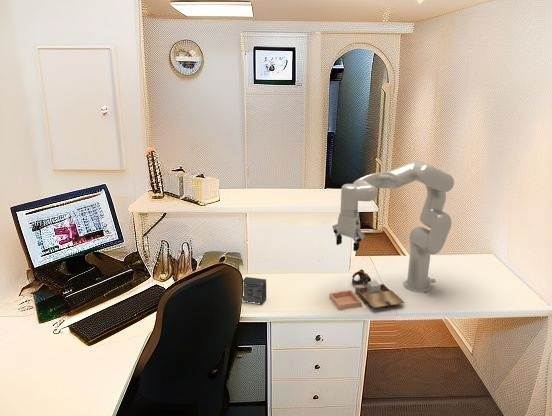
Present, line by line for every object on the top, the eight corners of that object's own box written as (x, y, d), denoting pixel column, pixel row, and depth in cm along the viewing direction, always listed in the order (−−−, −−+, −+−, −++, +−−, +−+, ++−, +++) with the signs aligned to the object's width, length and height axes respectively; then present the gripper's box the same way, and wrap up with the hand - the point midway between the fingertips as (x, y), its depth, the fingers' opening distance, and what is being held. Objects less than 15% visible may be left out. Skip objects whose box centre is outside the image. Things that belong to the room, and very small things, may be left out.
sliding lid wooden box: (383, 289, 212) (383, 282, 210) (404, 309, 194) (405, 301, 193) (354, 294, 207) (355, 286, 206) (373, 314, 190) (374, 306, 189)
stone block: (375, 291, 208) (375, 280, 206) (379, 296, 204) (380, 285, 202) (366, 293, 207) (367, 282, 205) (371, 297, 203) (372, 286, 201)
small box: (267, 298, 204) (266, 278, 201) (263, 305, 198) (262, 285, 195) (246, 295, 207) (245, 276, 204) (241, 302, 201) (241, 282, 198)
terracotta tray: (350, 295, 206) (351, 290, 205) (361, 307, 196) (361, 301, 195) (329, 299, 203) (329, 293, 202) (338, 311, 193) (339, 305, 192)
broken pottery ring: (374, 290, 212) (368, 279, 208) (356, 296, 215) (350, 285, 211) (371, 274, 222) (365, 263, 218) (354, 279, 225) (348, 269, 221)
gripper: (370, 214, 186) (367, 250, 191) (338, 205, 198) (337, 239, 203) (359, 218, 181) (357, 255, 186) (328, 209, 193) (327, 244, 198)
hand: (347, 247), depth 195 cm, fingers open, 9 cm apart
